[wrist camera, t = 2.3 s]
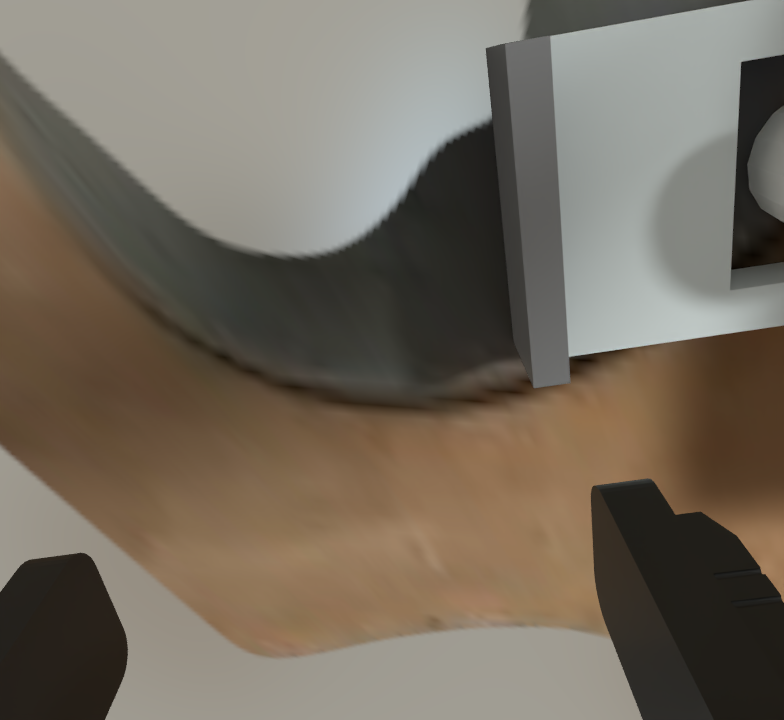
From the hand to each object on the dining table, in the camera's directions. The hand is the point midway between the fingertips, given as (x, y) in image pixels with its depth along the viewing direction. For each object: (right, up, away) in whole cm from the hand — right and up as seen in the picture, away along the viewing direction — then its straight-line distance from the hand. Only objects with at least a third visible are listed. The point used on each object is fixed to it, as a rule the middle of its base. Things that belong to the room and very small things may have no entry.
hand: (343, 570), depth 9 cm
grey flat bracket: (+15, +11, +19) cm, 27 cm away
